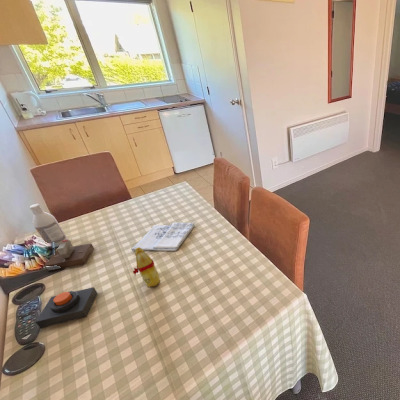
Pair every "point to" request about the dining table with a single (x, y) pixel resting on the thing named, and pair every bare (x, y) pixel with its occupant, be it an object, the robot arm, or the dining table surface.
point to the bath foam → (47, 225)
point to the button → (62, 298)
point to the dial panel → (72, 257)
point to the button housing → (67, 308)
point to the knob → (65, 249)
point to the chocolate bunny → (146, 268)
